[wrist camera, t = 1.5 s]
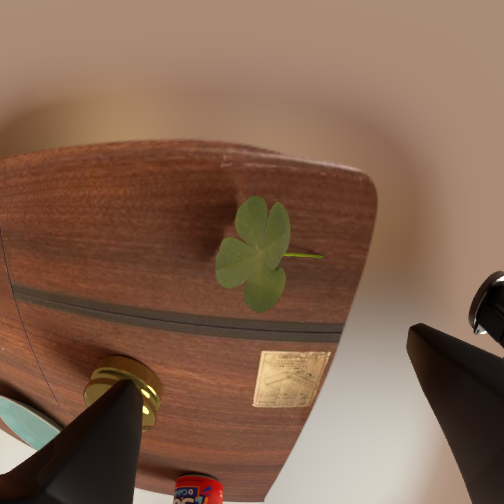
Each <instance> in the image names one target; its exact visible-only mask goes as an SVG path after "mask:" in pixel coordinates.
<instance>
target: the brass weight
mask: <svg viewBox="0 0 504 504" xmlns="http://www.w3.org/2000/svg"><path fill="white" fill-rule="evenodd" d="M120 379H131V380H133V381H134V383H135V384H136V386H137V387H138V389H139V390H140V392H141V393H142V395H143V398H144V404H143V419H142V433H144V432H147V431H149V430H151V429H152V428H153V427H154V426H155V424H156V421H157V412H158V410H159V409H160V405H161V403H160V402H161V399H162V395H163V387H162V384H161V382H160V380H159V379H158V377H157V376H156V375H155V374H154V373H153V372H152V371H151V370H150V369H148V368H147V367H146V366H144V365H143V364H141V363H139V362H137V361H135V360H132V359H130V358H126V357H122V356H109V357H106V358H104V359H102V360H101V361H100V362H99V364H98V365H97V367H96V369H95V371H94V372H93V373H92V375H91V381H90V382H89V383H88V384H87V385H86V386H85V388H84V391H83V397H84V401H85V403H86V405H87V407H89V406H90V405H92V404H93V403H94V402H95V401H96V400H97V399H98V398H99V397H101V396H102V395H103V394H104V393H105V392H106V391H107V390H108V389H110V388H111V387H112V386H113V385H114V384H115V383H116V382H117V381H119V380H120Z"/></svg>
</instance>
